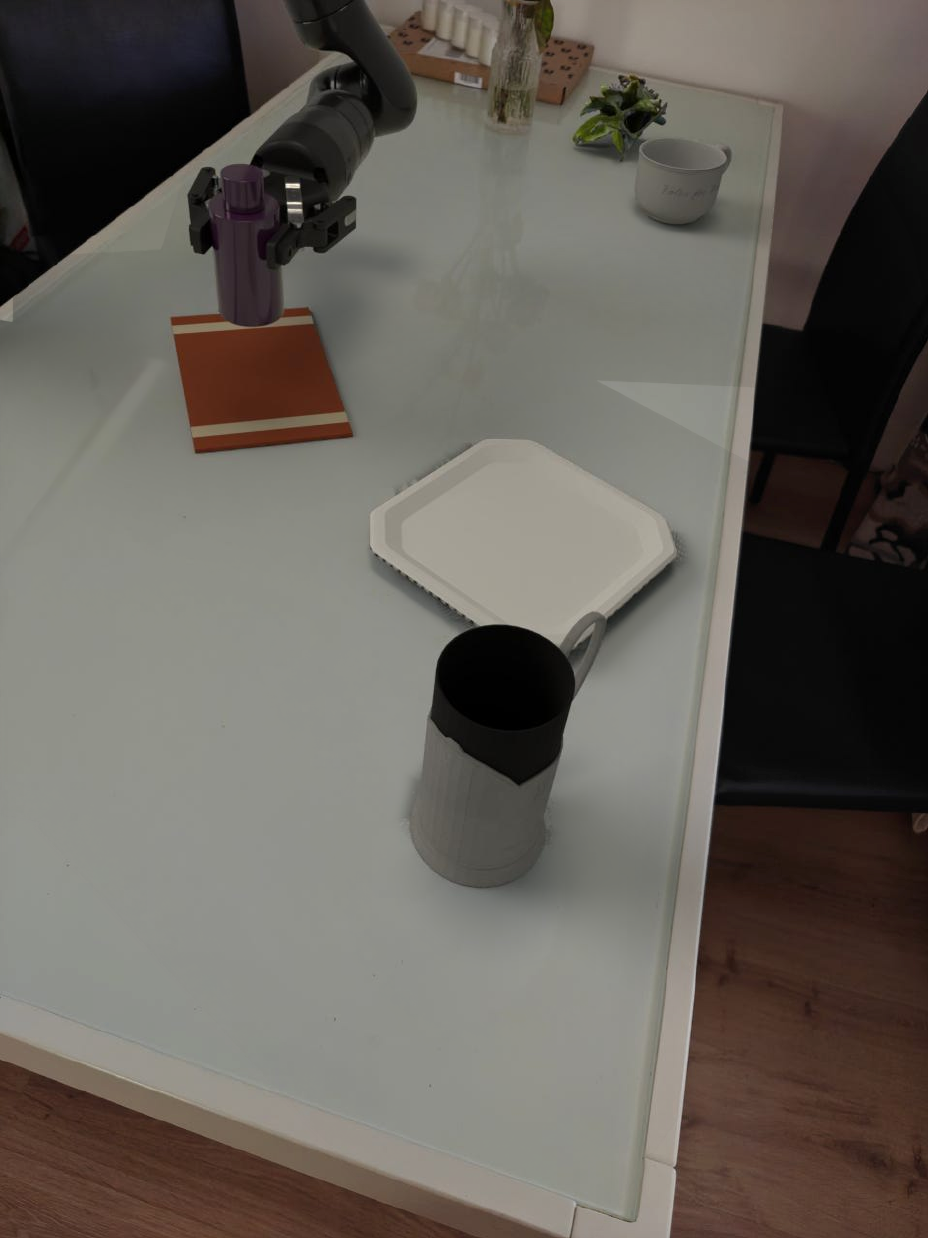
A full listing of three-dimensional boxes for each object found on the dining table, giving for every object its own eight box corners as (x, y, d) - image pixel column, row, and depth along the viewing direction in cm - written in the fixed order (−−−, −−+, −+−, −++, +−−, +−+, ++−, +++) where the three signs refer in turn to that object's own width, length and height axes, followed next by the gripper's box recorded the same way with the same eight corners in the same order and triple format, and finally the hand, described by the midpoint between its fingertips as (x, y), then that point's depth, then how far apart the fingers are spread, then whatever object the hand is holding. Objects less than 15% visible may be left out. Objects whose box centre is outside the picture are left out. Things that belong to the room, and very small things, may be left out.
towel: (171, 320, 100) (170, 316, 100) (308, 310, 104) (308, 306, 104) (195, 453, 87) (194, 449, 86) (352, 436, 90) (352, 432, 90)
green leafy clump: (612, 177, 147) (671, 106, 142) (627, 195, 138) (690, 121, 133) (556, 125, 142) (615, 50, 137) (568, 140, 133) (631, 61, 128)
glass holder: (381, 825, 63) (389, 674, 52) (522, 702, 71) (555, 548, 60) (484, 915, 59) (516, 773, 49) (621, 775, 67) (675, 626, 56)
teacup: (655, 237, 123) (670, 172, 117) (611, 199, 129) (624, 135, 123) (746, 225, 127) (765, 162, 121) (700, 188, 134) (716, 127, 128)
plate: (342, 547, 80) (342, 527, 78) (503, 442, 91) (506, 422, 90) (542, 689, 72) (547, 669, 70) (692, 553, 83) (699, 534, 82)
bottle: (224, 330, 81) (210, 190, 72) (214, 295, 84) (199, 158, 76) (290, 324, 82) (284, 186, 74) (277, 290, 86) (270, 155, 77)
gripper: (227, 105, 86) (139, 184, 75) (387, 136, 85) (321, 221, 73) (234, 190, 92) (153, 276, 80) (384, 221, 90) (322, 313, 79)
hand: (234, 250), depth 77 cm, fingers closed on bottle, 5 cm apart
